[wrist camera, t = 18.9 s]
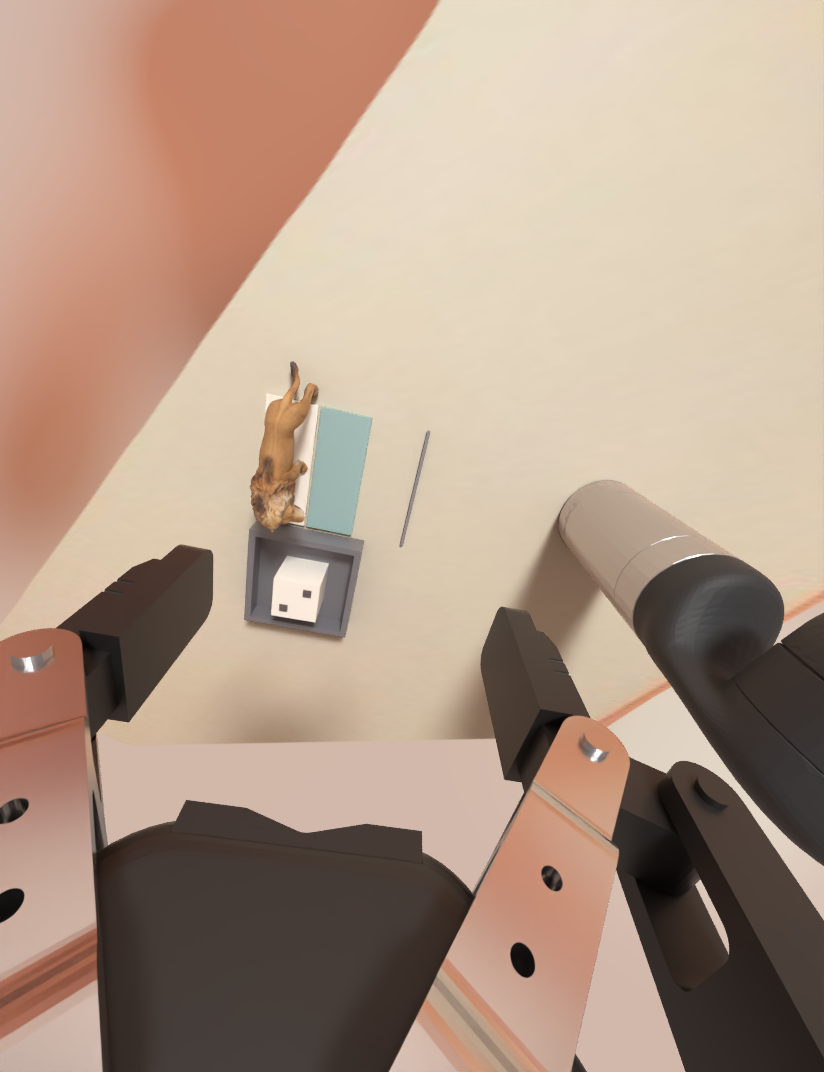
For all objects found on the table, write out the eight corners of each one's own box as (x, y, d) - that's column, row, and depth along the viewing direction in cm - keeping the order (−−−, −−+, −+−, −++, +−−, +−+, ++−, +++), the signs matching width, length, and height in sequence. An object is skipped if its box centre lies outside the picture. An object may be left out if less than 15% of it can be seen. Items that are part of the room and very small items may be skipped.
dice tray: (364, 540, 47) (361, 551, 45) (348, 623, 52) (344, 637, 50) (258, 519, 46) (249, 529, 44) (252, 606, 51) (244, 619, 49)
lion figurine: (318, 505, 45) (298, 540, 37) (271, 500, 45) (239, 534, 37) (320, 364, 39) (296, 369, 31) (264, 357, 38) (225, 360, 30)
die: (328, 563, 48) (320, 586, 43) (324, 598, 50) (315, 623, 45) (286, 555, 47) (272, 578, 43) (282, 591, 50) (269, 616, 45)
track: (430, 431, 42) (430, 431, 41) (402, 544, 47) (402, 545, 47) (267, 393, 40) (266, 394, 40) (259, 515, 46) (258, 516, 46)
